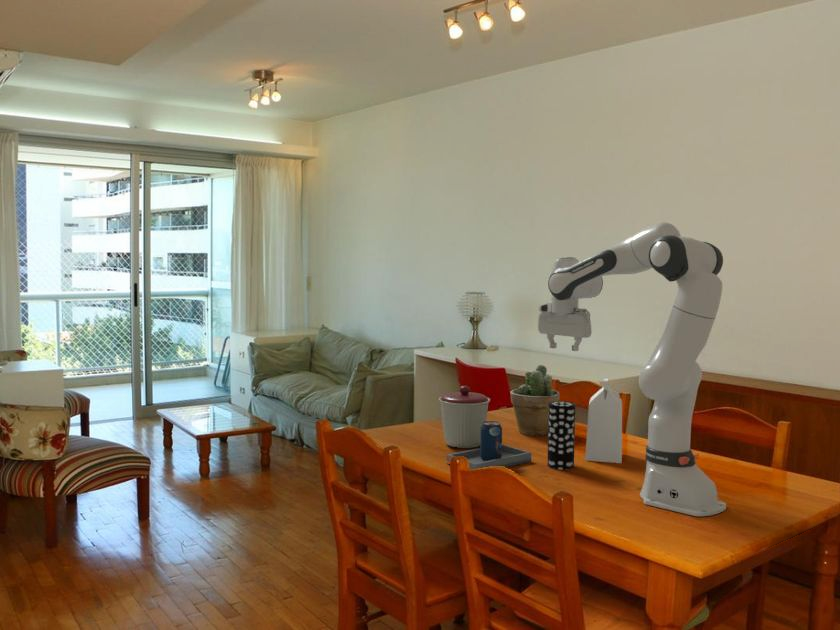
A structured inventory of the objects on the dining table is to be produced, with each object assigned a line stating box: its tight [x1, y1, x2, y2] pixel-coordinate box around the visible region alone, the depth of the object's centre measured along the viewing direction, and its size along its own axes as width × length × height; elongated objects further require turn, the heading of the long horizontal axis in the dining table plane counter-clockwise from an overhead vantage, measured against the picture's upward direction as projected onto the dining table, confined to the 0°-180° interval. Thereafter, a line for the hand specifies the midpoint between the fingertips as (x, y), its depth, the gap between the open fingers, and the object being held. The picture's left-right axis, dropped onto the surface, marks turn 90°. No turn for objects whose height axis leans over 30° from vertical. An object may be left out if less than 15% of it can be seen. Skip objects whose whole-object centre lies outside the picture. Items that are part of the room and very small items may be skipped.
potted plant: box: [509, 364, 561, 437], centre depth 279 cm, size 18×19×25 cm
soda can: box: [479, 420, 503, 461], centre depth 238 cm, size 7×7×12 cm
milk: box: [584, 377, 623, 464], centre depth 246 cm, size 12×12×26 cm
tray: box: [446, 443, 532, 469], centre depth 238 cm, size 14×24×3 cm, turn 127°
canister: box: [438, 385, 491, 449], centre depth 260 cm, size 18×18×21 cm
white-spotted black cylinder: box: [546, 400, 576, 471], centre depth 235 cm, size 8×8×20 cm
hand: (563, 349), depth 243 cm, fingers open, 8 cm apart
